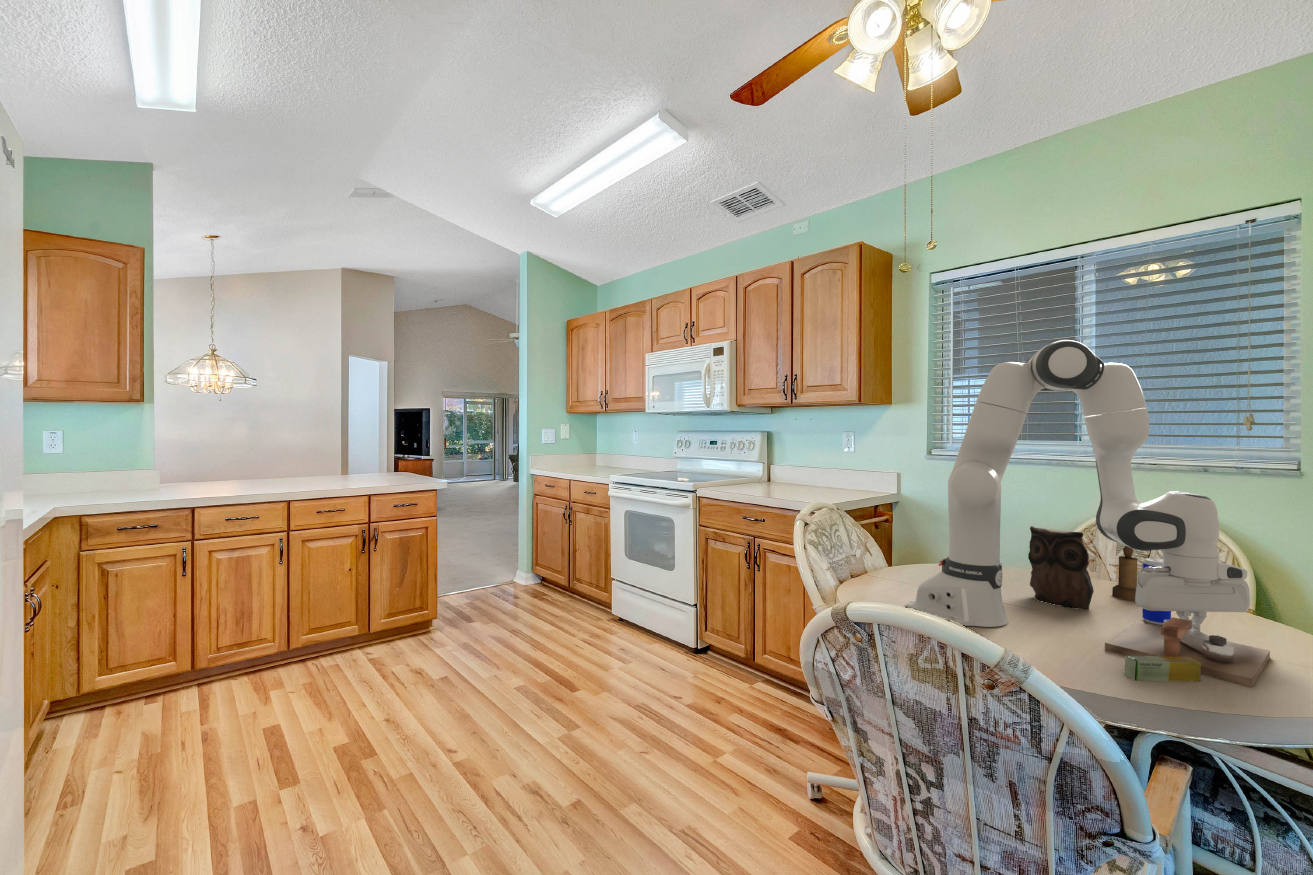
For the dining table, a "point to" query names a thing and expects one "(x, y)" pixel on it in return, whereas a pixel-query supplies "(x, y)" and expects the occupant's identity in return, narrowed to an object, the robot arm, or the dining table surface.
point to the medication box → (1162, 668)
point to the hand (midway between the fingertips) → (1191, 630)
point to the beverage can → (1155, 616)
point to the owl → (1060, 568)
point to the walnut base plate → (1189, 650)
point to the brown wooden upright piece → (1126, 576)
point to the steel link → (1207, 646)
